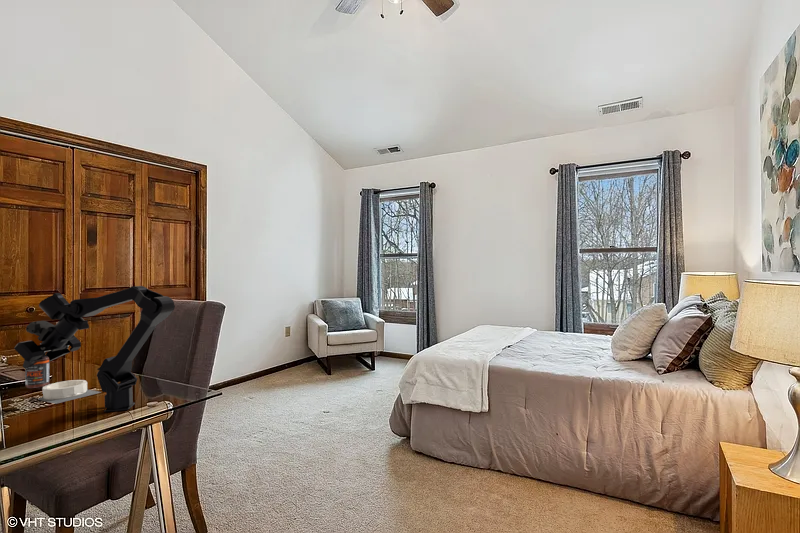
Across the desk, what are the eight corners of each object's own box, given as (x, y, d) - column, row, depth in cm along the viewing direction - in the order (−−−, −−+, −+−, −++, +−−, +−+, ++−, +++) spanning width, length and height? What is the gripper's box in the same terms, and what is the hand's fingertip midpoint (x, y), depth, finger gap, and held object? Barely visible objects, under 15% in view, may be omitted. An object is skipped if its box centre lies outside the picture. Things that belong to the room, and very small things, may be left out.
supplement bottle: (23, 390, 134) (23, 353, 134) (27, 385, 139) (26, 350, 139) (48, 386, 137) (47, 350, 138) (50, 382, 142) (50, 348, 142)
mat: (101, 393, 153) (101, 392, 153) (55, 404, 141) (55, 403, 141) (74, 387, 162) (74, 386, 162) (28, 398, 149) (28, 397, 149)
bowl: (92, 388, 158) (92, 378, 158) (77, 397, 147) (77, 387, 147) (54, 391, 155) (54, 381, 155) (35, 401, 144) (35, 390, 144)
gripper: (72, 309, 147) (43, 342, 148) (19, 315, 129) (-14, 353, 130) (94, 332, 147) (65, 365, 148) (44, 341, 128) (11, 379, 129)
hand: (33, 365), depth 139 cm, fingers closed on supplement bottle, 6 cm apart
